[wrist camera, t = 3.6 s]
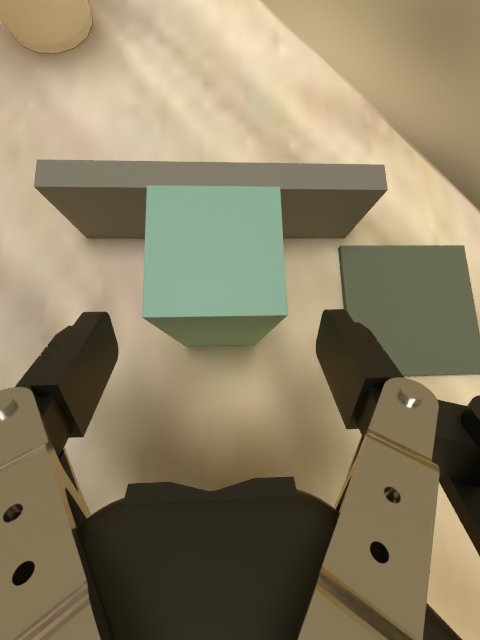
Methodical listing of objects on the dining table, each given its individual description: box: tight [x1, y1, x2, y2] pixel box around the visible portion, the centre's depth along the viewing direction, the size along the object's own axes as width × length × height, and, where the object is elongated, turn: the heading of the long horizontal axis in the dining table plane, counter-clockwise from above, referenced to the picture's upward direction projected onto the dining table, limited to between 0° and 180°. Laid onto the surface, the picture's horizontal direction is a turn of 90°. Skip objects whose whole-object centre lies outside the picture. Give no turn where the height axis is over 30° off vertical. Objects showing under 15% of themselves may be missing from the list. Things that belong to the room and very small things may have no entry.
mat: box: [339, 246, 480, 376], centre depth 20 cm, size 9×9×1 cm
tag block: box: [142, 185, 287, 346], centre depth 14 cm, size 4×5×10 cm
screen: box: [34, 160, 388, 238], centre depth 18 cm, size 18×4×6 cm, turn 91°
